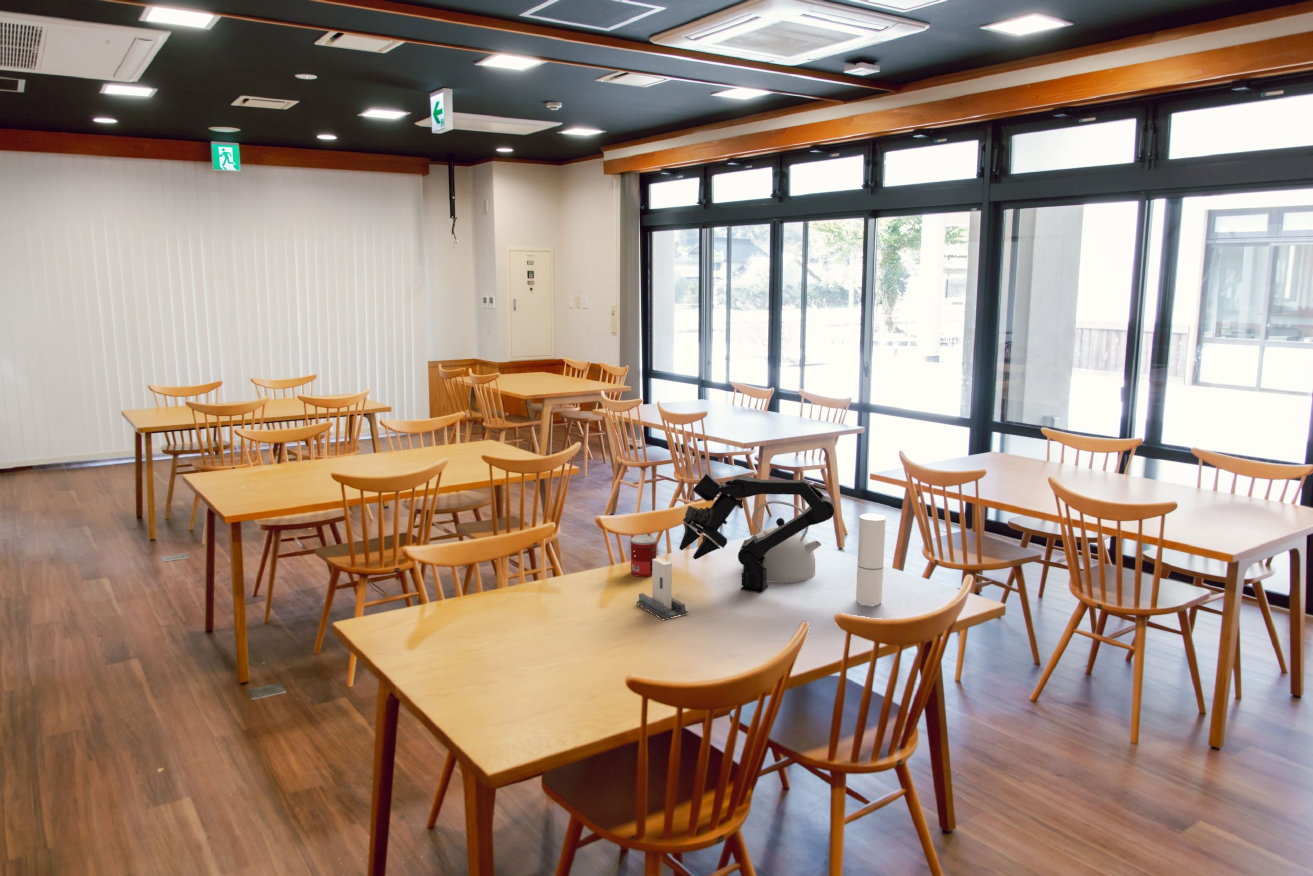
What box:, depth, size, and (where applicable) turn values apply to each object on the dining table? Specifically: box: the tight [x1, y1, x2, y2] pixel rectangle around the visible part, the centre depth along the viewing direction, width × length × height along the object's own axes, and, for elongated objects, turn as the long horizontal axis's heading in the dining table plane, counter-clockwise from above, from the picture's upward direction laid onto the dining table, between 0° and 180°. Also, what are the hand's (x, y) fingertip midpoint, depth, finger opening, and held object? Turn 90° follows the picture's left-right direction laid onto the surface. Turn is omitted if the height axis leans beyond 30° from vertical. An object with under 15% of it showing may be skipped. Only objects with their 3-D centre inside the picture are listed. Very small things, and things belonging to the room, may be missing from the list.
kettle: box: [742, 500, 822, 583], centre depth 281 cm, size 25×23×23 cm
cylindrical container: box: [855, 513, 887, 605], centre depth 254 cm, size 7×7×25 cm
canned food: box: [630, 535, 657, 577], centre depth 280 cm, size 8×8×11 cm
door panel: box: [651, 557, 673, 609], centre depth 249 cm, size 3×6×13 cm, turn 32°
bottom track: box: [636, 592, 689, 620], centre depth 250 cm, size 8×14×3 cm, turn 32°
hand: (687, 553), depth 262 cm, fingers open, 9 cm apart
